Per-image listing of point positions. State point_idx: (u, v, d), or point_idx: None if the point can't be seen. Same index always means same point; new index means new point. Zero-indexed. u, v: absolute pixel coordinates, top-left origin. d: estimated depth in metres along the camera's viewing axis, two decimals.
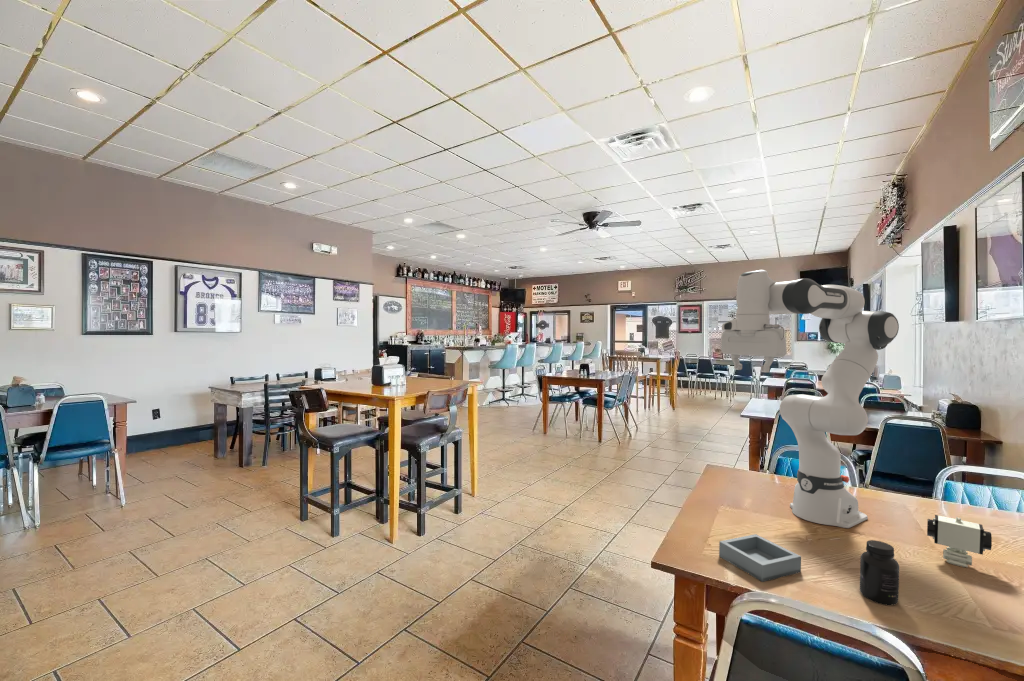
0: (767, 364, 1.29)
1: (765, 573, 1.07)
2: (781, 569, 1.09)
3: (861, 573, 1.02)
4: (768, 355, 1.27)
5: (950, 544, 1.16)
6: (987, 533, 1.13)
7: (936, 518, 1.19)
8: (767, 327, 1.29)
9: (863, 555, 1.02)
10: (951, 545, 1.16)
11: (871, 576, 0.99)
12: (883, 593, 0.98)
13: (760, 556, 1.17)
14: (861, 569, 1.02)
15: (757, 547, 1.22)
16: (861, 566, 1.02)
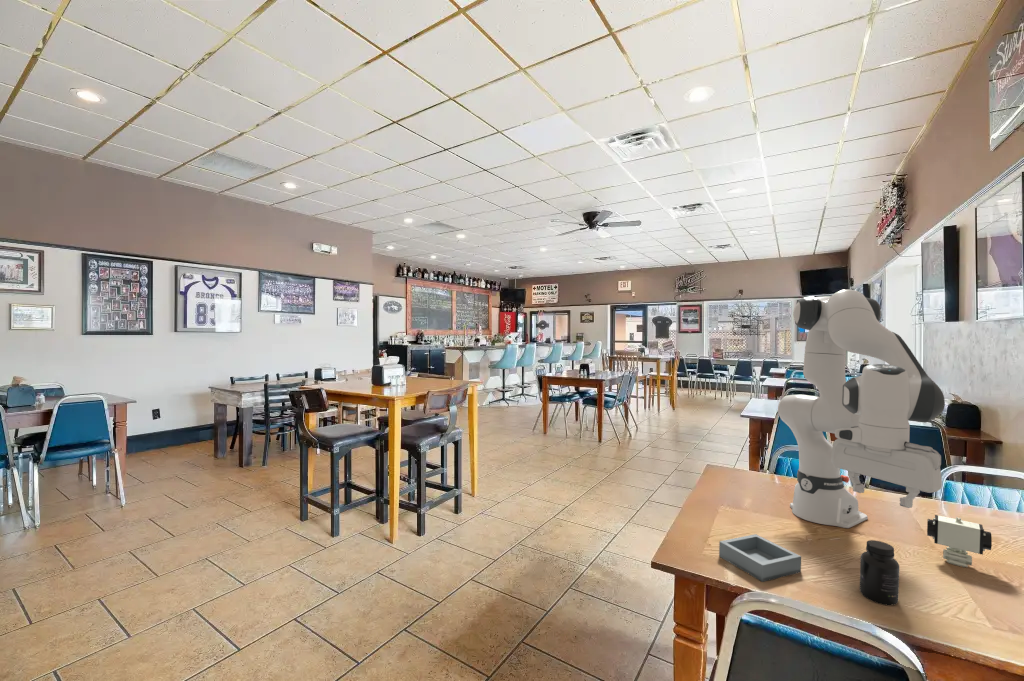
0: (910, 498, 0.95)
1: (765, 573, 1.07)
2: (781, 569, 1.09)
3: (861, 573, 1.02)
4: (915, 488, 0.93)
5: (950, 544, 1.16)
6: (987, 533, 1.13)
7: (936, 518, 1.19)
8: (911, 447, 0.95)
9: (863, 555, 1.02)
10: (951, 545, 1.16)
11: (871, 576, 0.99)
12: (883, 593, 0.98)
13: (760, 556, 1.17)
14: (861, 569, 1.02)
15: (757, 547, 1.22)
16: (861, 566, 1.02)
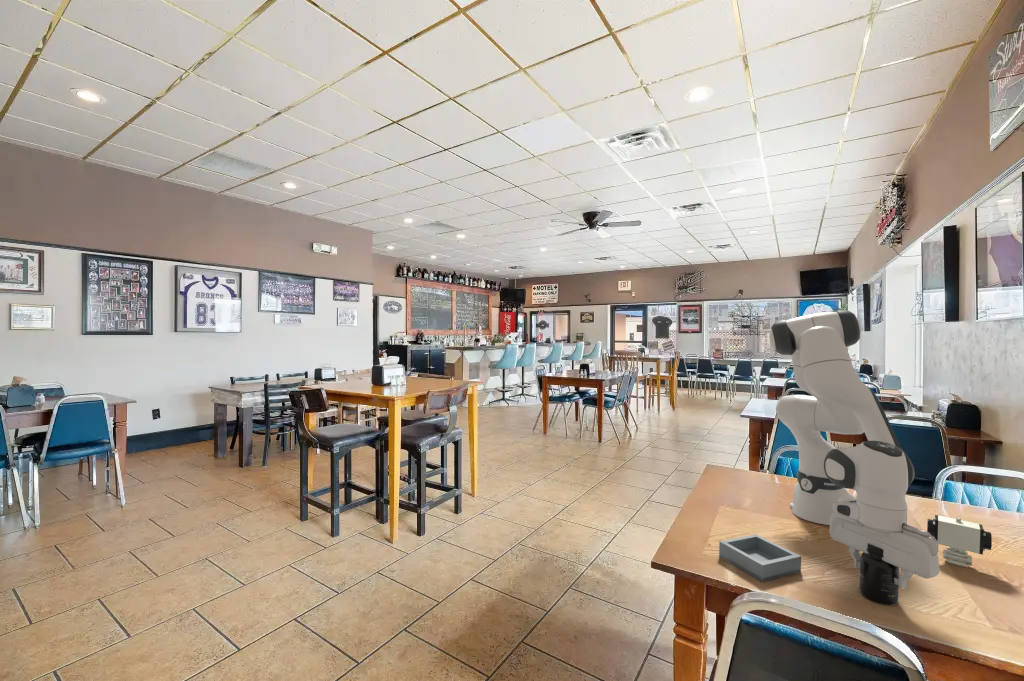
0: (904, 579, 0.96)
1: (765, 573, 1.07)
2: (781, 569, 1.09)
3: (861, 573, 1.02)
4: (913, 573, 0.94)
5: (950, 544, 1.16)
6: (987, 533, 1.13)
7: (936, 518, 1.19)
8: (908, 530, 0.95)
9: (863, 555, 1.02)
10: (951, 545, 1.16)
11: (871, 576, 0.99)
12: (883, 593, 0.98)
13: (760, 556, 1.17)
14: (861, 569, 1.02)
15: (757, 547, 1.22)
16: (861, 566, 1.02)
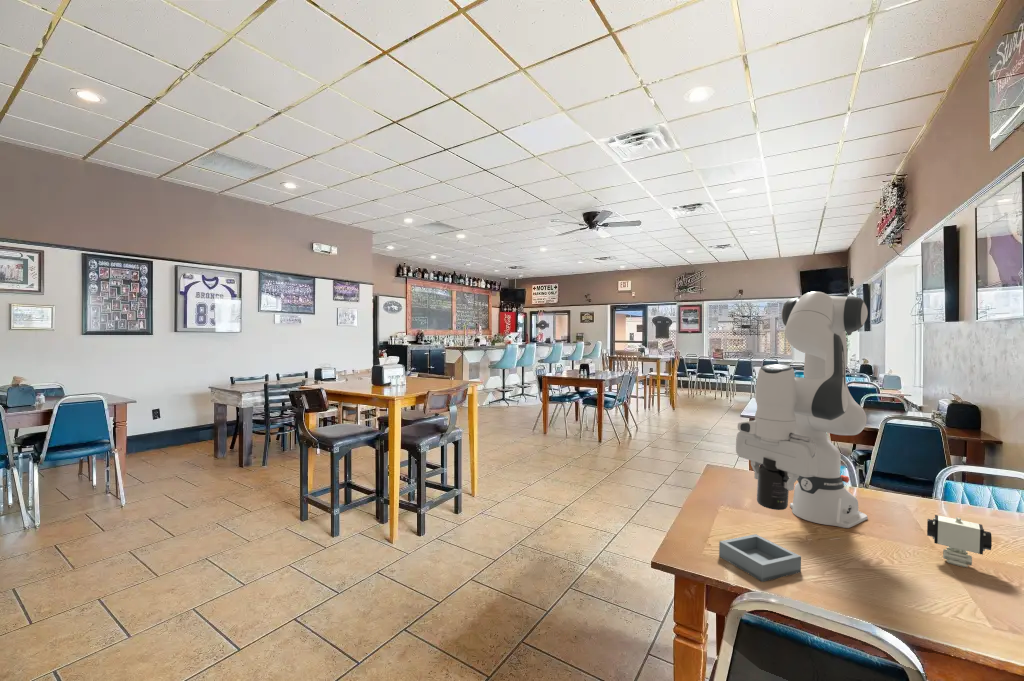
0: (791, 482, 1.08)
1: (765, 573, 1.07)
2: (781, 569, 1.09)
3: (757, 484, 1.14)
4: (796, 474, 1.06)
5: (950, 544, 1.16)
6: (987, 533, 1.13)
7: (936, 518, 1.19)
8: (794, 438, 1.08)
9: (760, 468, 1.14)
10: (951, 545, 1.16)
11: (764, 485, 1.12)
12: (773, 499, 1.10)
13: (760, 556, 1.17)
14: (758, 480, 1.14)
15: (757, 547, 1.22)
16: (758, 477, 1.14)
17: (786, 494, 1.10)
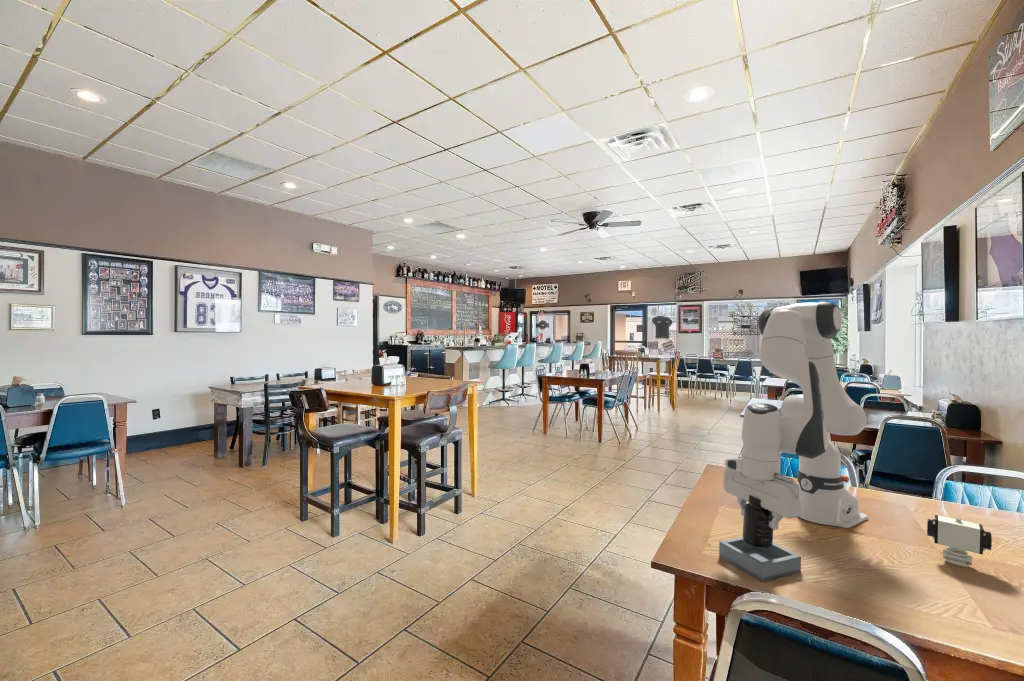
0: (775, 521, 1.10)
1: (765, 573, 1.07)
2: (781, 569, 1.09)
3: (743, 521, 1.16)
4: (780, 514, 1.08)
5: (950, 544, 1.16)
6: (987, 533, 1.13)
7: (936, 518, 1.19)
8: (778, 478, 1.09)
9: (745, 505, 1.16)
10: (951, 545, 1.16)
11: (749, 523, 1.14)
12: (758, 537, 1.12)
13: (760, 556, 1.17)
14: (743, 517, 1.16)
15: (757, 547, 1.22)
16: None
17: (771, 532, 1.12)
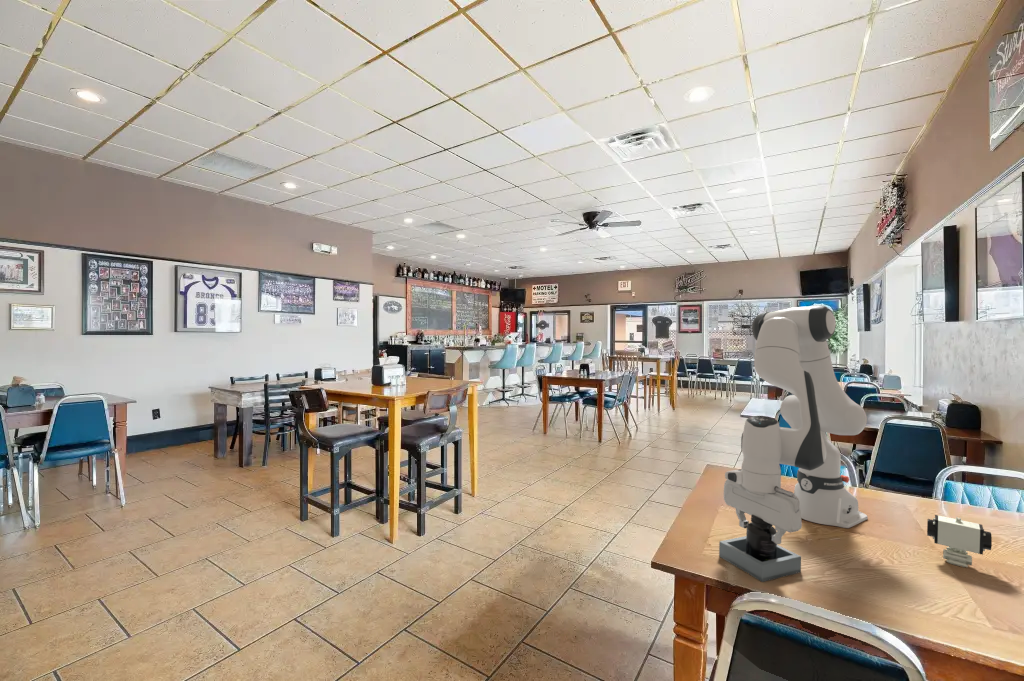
0: (778, 536, 1.09)
1: (765, 573, 1.07)
2: (781, 569, 1.09)
3: (746, 541, 1.16)
4: (780, 528, 1.08)
5: (950, 544, 1.16)
6: (987, 533, 1.13)
7: (936, 518, 1.19)
8: (779, 491, 1.09)
9: (748, 525, 1.16)
10: (951, 545, 1.16)
11: (752, 542, 1.13)
12: (762, 557, 1.12)
13: None
14: (746, 537, 1.16)
15: None
16: (746, 534, 1.15)
17: (774, 552, 1.12)
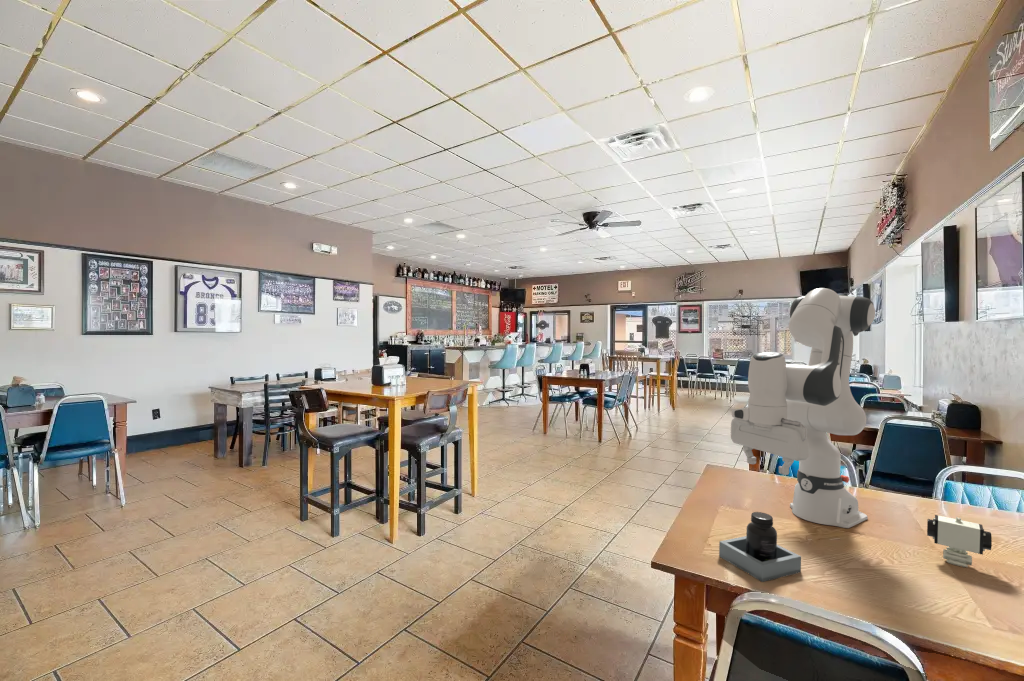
0: (786, 466, 1.11)
1: (765, 573, 1.07)
2: (781, 569, 1.09)
3: (746, 541, 1.16)
4: (788, 458, 1.09)
5: (950, 544, 1.16)
6: (987, 533, 1.13)
7: (936, 518, 1.19)
8: (785, 423, 1.11)
9: (748, 525, 1.16)
10: (951, 545, 1.16)
11: (752, 542, 1.13)
12: (762, 557, 1.12)
13: None
14: (746, 537, 1.16)
15: None
16: (746, 534, 1.15)
17: (774, 552, 1.12)
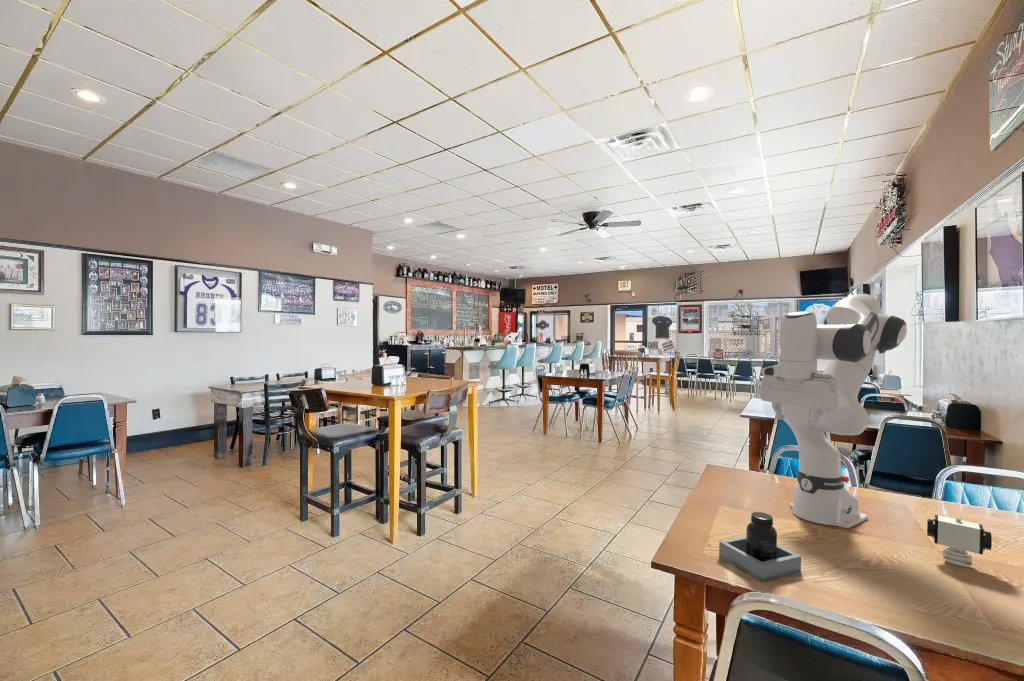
0: (815, 418, 1.16)
1: (765, 573, 1.07)
2: (781, 569, 1.09)
3: (746, 541, 1.16)
4: (818, 409, 1.14)
5: (950, 544, 1.16)
6: (987, 533, 1.13)
7: (936, 518, 1.19)
8: (816, 376, 1.16)
9: (748, 525, 1.16)
10: (951, 545, 1.16)
11: (752, 542, 1.13)
12: (762, 557, 1.12)
13: None
14: (746, 537, 1.16)
15: None
16: (746, 534, 1.15)
17: (774, 552, 1.12)
